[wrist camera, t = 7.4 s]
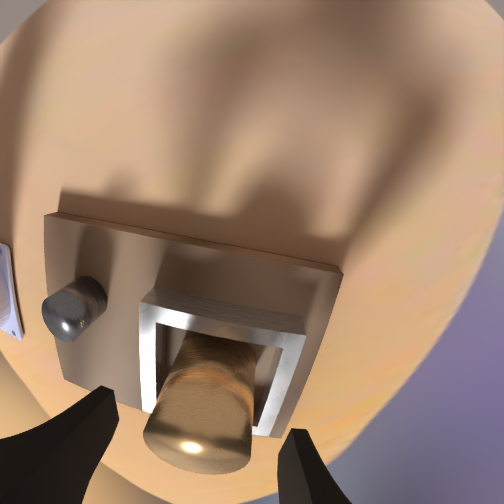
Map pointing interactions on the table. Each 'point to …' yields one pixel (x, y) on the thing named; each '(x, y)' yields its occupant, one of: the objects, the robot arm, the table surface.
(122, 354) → the fitting board
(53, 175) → the table surface
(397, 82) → the table surface
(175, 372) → the cylinder
